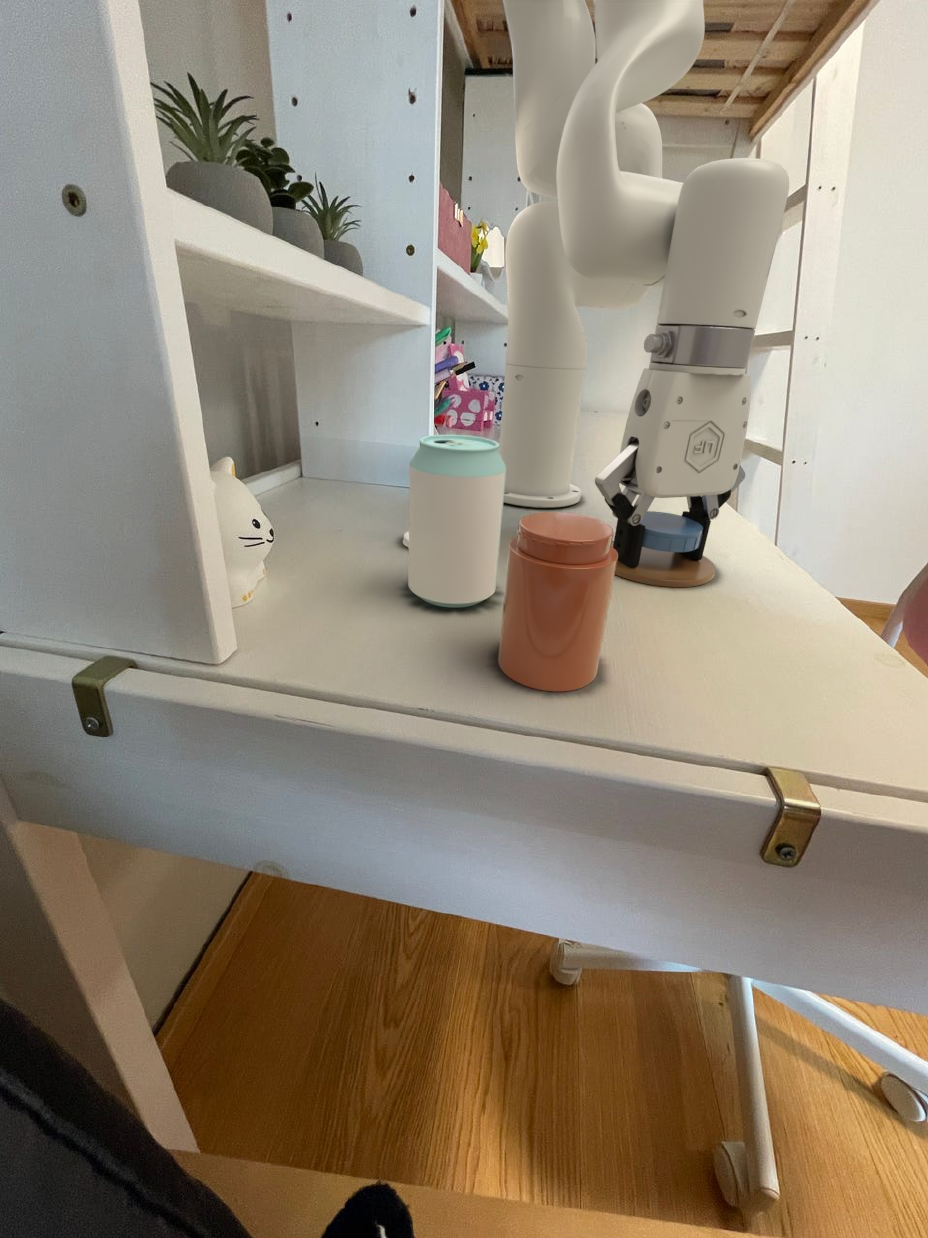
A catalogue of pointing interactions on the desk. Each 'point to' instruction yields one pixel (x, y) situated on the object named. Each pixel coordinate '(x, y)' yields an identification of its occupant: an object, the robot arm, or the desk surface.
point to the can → (455, 519)
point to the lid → (670, 532)
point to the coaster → (668, 569)
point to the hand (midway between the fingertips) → (656, 557)
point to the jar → (556, 600)
